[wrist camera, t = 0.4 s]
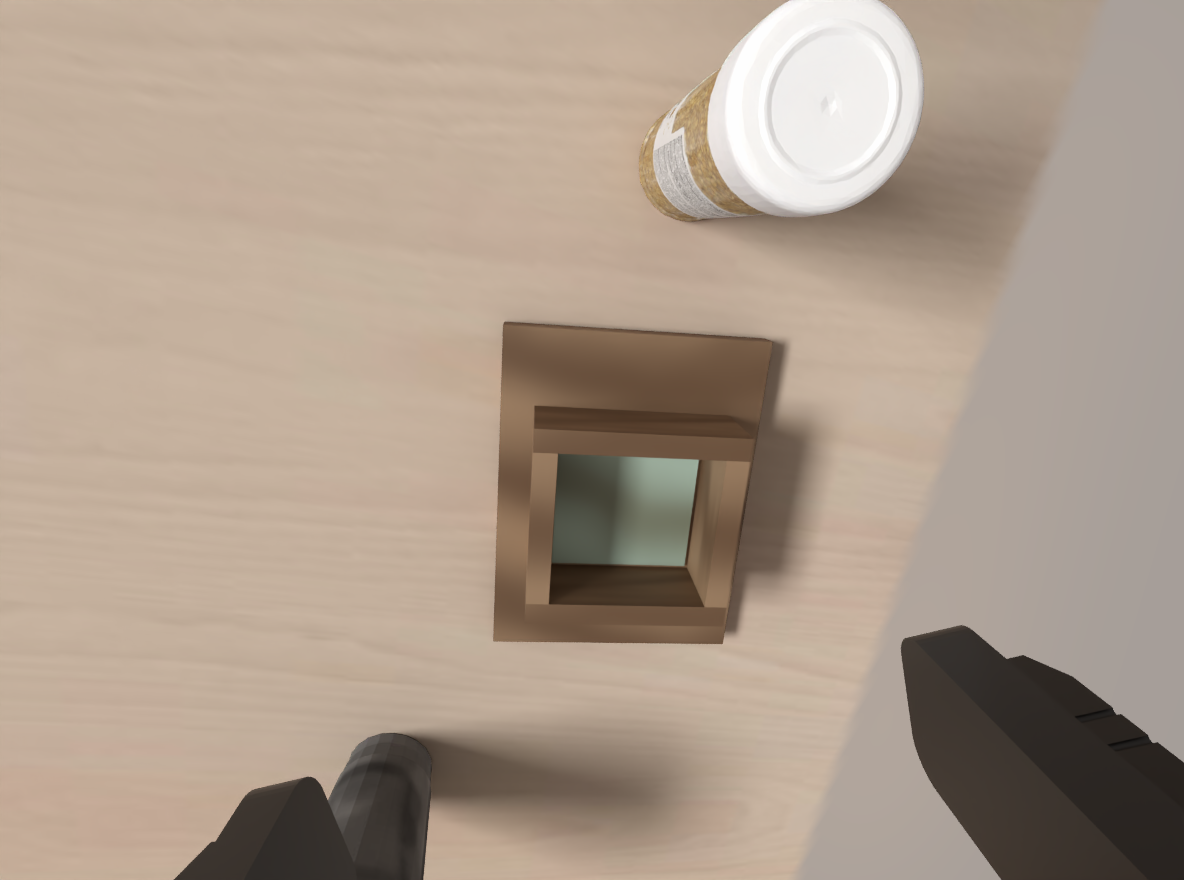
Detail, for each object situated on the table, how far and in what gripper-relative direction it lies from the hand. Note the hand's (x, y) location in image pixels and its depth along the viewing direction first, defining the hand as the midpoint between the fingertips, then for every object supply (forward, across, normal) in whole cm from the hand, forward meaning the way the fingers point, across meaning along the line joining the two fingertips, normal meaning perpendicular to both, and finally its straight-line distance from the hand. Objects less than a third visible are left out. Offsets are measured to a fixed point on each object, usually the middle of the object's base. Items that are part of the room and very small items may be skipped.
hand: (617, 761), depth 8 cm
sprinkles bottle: (+21, -7, -10) cm, 24 cm away
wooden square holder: (+22, -1, +4) cm, 22 cm away
